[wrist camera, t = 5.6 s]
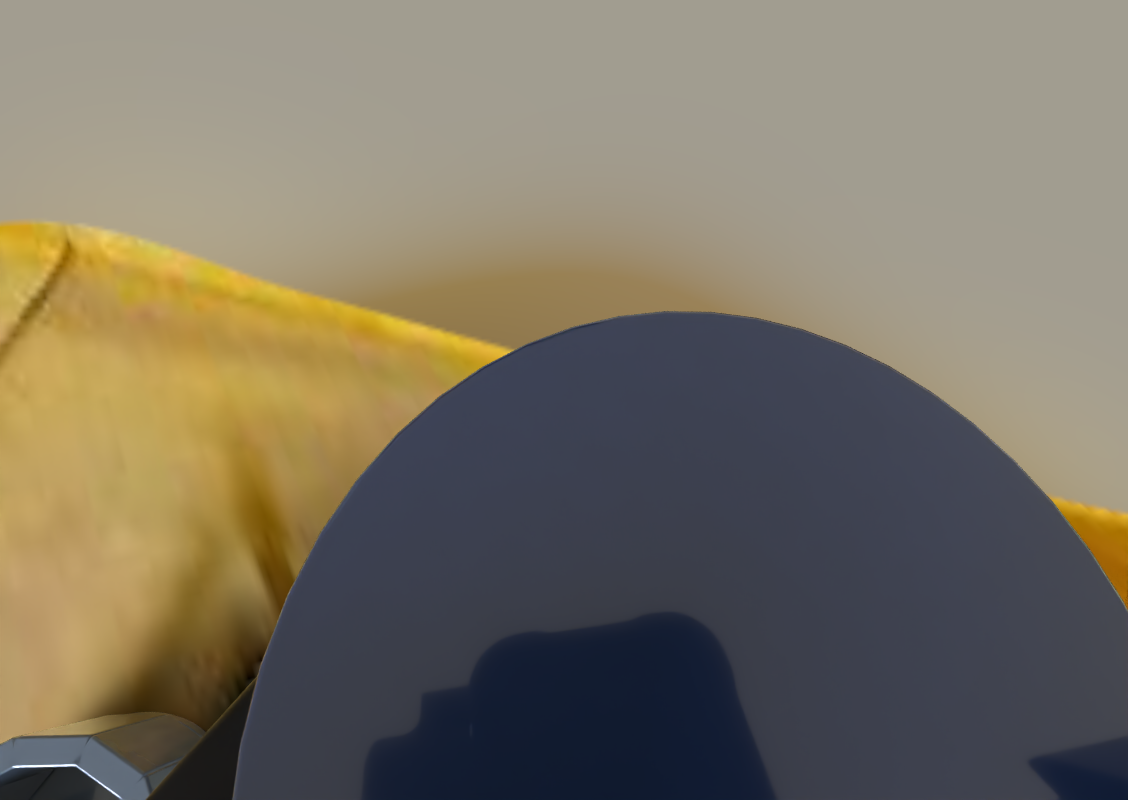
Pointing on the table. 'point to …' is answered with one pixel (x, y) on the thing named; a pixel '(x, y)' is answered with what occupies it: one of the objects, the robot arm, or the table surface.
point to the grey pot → (96, 758)
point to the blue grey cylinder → (692, 593)
